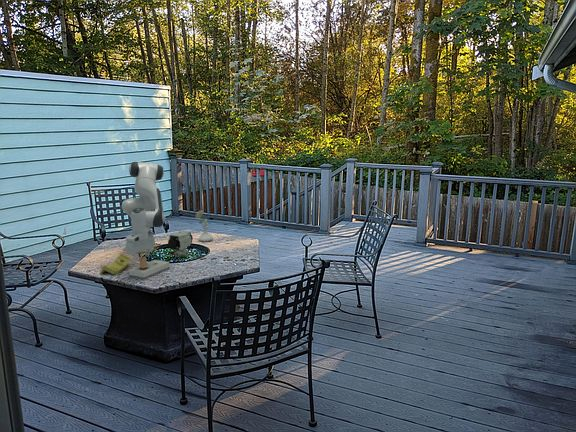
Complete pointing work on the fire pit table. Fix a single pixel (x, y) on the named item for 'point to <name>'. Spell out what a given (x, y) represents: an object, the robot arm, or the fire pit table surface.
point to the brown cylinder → (143, 263)
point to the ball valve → (180, 242)
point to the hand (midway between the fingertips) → (141, 257)
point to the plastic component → (117, 265)
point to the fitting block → (149, 269)
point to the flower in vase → (205, 235)
